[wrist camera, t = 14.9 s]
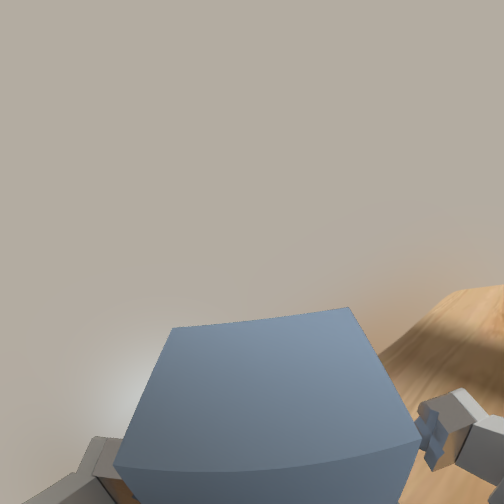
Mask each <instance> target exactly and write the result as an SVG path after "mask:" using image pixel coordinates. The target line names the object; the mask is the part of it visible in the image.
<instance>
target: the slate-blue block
mask: <svg viewBox="0 0 504 504" xmlns="http://www.w3.org/2000/svg"><path fill="white" fill-rule="evenodd" d="M421 441H422V437H421V435H420V433H419V431H418V429H417V427H416V425H415V423H414V421H413V420H412V418H411V416H410V414H409V412H408V410H407V408H406V406H405V405H404V403H403V401H402V399H401V397H400V395H399V394H398V392H397V390H396V388H395V386H394V384H393V383H392V381H391V379H390V377H389V375H388V374H387V372H386V370H385V368H384V367H383V365H382V363H381V361H380V360H379V358H378V356H377V354H376V353H375V351H374V349H373V347H372V346H371V344H370V343H369V341H368V339H367V337H366V335H365V334H364V332H363V330H362V329H361V327H360V325H359V323H358V322H357V320H356V319H355V317H354V315H353V314H352V312H351V310H350V309H349V307H346V308H340V309H334V310H327V311H322V312H314V313H307V314H300V315H293V316H284V317H277V318H269V319H261V320H252V321H243V322H233V323H224V324H214V325H202V326H192V327H179V328H172V330H171V332H170V335H169V337H168V339H167V341H166V343H165V345H164V348H163V350H162V352H161V354H160V356H159V359H158V361H157V363H156V365H155V367H154V369H153V372H152V374H151V376H150V378H149V381H148V383H147V385H146V388H145V390H144V392H143V394H142V396H141V399H140V401H139V403H138V405H137V408H136V410H135V413H134V415H133V417H132V419H131V422H130V424H129V426H128V429H127V431H126V434H125V436H124V438H123V441H122V443H121V445H120V448H119V450H118V453H117V455H116V457H115V460H114V462H113V467H114V468H115V470H116V471H117V472H118V474H119V475H120V477H121V478H122V479H123V481H124V482H125V484H126V485H127V486H128V488H129V489H130V490H131V491H132V493H133V494H134V495H135V497H136V498H137V499H138V500H139V502H140V503H141V504H397V502H398V500H399V498H400V496H401V493H402V491H403V489H404V486H405V484H406V481H407V479H408V476H409V474H410V471H411V469H412V466H413V464H414V461H415V458H416V455H417V453H418V450H419V447H420V444H421Z"/></svg>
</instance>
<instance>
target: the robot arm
mask: <svg viewBox="0 0 504 504" xmlns="http://www.w3.org/2000/svg"><path fill="white" fill-rule="evenodd" d="M417 412H418V414H419V415H420V416H419V417H418V418H417V420H416V421H415V422H414V423H415V425H416V427H417V429H418V431H419V433H420V435H421V437H422V441H421V444H420V447H419V449H421V450H423V451H425V455H424V459H425V461H426V462H427V464H428V466H429V467H430V469H431V471H432V472H434V471H436V470H439V469H442V468H444V467H446V466H449V465H451V464H454V463H455V465H457V466H459V467H461V468H463V469H465V470H466V471H468V472H470V473H472V474H474V475H476V476H478V477H479V478H481V479H483V480H485V481H487V482H489V483H491V484H493V485H495V486H497V487H496V488H495V489H494V491H493V492H492V494H491V495H490V496H489V499H488V502H489V504H504V418H503V417H500V416H496V415H493V414H492V415H490V416H489V415H488V414H487V413H486V412H485V411H484V409H483V408H482V407H481V406H480V405H479V404H478V403H477V402H476V401H475V400H474V398H473V397H472V396H471V395H470V394H469V393H468V392H467V391H466V390H465V389H463V388H459V389H456V390H454V391H451V392H449V393H446V394H443V395H440V396H438V397H435V398H432V399H429V400H427V401H424V402H421V404H420V405H419V407H418V411H417ZM122 441H123V439H117V438H105V437H98V436H96V437H94V438H92V440H91V442H90V444H89V446H88V448H87V450H86V452H85V454H84V457H83V459H82V461H81V463H80V466H79V468H78V470H77V472H76V473H71V474H69V475H67V476H66V477H64V478H63V479H61V480H60V481H58V482H57V483H55V484H53V485H52V486H50V487H49V488H47V489H46V490H44V491H42V492H41V493H39V494H37V495H36V496H34V497H32V498H31V499H29V500H28V501H26V502H24V503H23V504H141V503H140V502H139V500H138V499H137V498H136V497H135V495H134V494H133V493H132V491H131V490H130V489H129V488H128V486H127V485H126V484H125V482H124V481H123V479H122V478H121V477H120V475H119V474H118V472H117V471H116V470H115V468H114V467H113V462H114V460H115V457H116V455H117V453H118V450H119V448H120V445H121V443H122Z"/></svg>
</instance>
